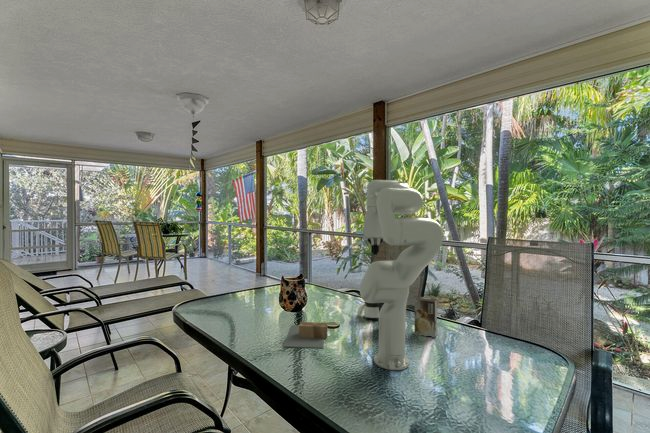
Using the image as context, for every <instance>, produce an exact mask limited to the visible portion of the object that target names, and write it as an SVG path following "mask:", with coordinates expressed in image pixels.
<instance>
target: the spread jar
mask: <svg viewBox="0 0 650 433" xmlns="http://www.w3.org/2000/svg"><path fill="white" fill-rule="evenodd" d="M363 312H364V318H365V319H366V320H367V321H377V320H378V321H379V303H367V302H365V301H364V303H363V302H362V303H361V304H360V305H359V307H358V309H357V314H356V315H357V316H359V317H360V316H362V314H363Z"/></svg>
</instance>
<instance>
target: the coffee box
mask: <svg viewBox="0 0 650 433" xmlns="http://www.w3.org/2000/svg"><path fill="white" fill-rule="evenodd" d="M437 314H438V299H437V298H434V297H433V298H432V297H426V296H416V297H415V299H414V335H415V334H418V335H417V336H421V335H424V336H423V337H426V336H432V337H435V336H437V335H436V334H438V331H437V329H438V328H437V326H438V324H437V323H438V321H437V320H438V318H437V317H438V315H437ZM432 337H431V338H432ZM435 338H436V337H435Z"/></svg>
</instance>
